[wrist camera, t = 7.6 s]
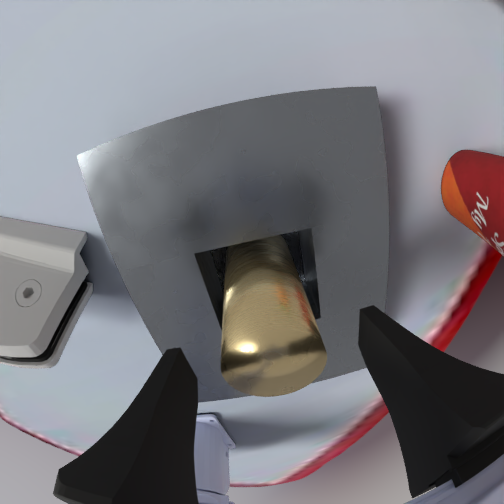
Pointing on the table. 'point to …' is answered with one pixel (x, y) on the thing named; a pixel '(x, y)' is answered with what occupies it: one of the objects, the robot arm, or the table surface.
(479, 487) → the robot arm
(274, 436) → the table surface
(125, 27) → the table surface
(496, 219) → the paper cup
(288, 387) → the brass pin
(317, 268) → the block
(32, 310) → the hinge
